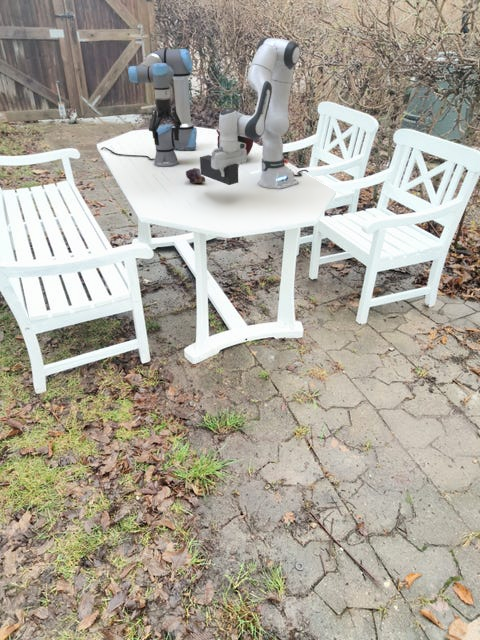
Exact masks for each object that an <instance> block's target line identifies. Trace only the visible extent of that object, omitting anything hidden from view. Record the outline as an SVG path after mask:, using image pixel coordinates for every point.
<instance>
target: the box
mask: <svg viewBox="0 0 480 640" xmlns="http://www.w3.org/2000/svg"><path fill="white" fill-rule="evenodd" d="M211 158H212V154H208V155H202V156H200V157H199V167H200V168H199V169H200V173H201V176H204V177H205V178H209V179H212V180H214V181H217V182H220V183H222V184H225V185H228V186H231V185H234V184H238V183H239V167H238V164H233V165H229V166H227V167H225V168H224V170H223V171H224V173H226V176H225V177H222V176H221V172H220V170H219V169H217V170H216V169H213V168H212V167H211Z"/></svg>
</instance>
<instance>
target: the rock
mask: <svg viewBox="0 0 480 640" xmlns="http://www.w3.org/2000/svg"><path fill="white" fill-rule="evenodd" d="M185 177H186V178H187V179H188V180H189V182H190V183H191V184H197V183H198V184H203V183H205V182H206V176H203V175H201V169H200V168H197V167H194V168H191V169H187V170H186V171H185Z"/></svg>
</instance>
